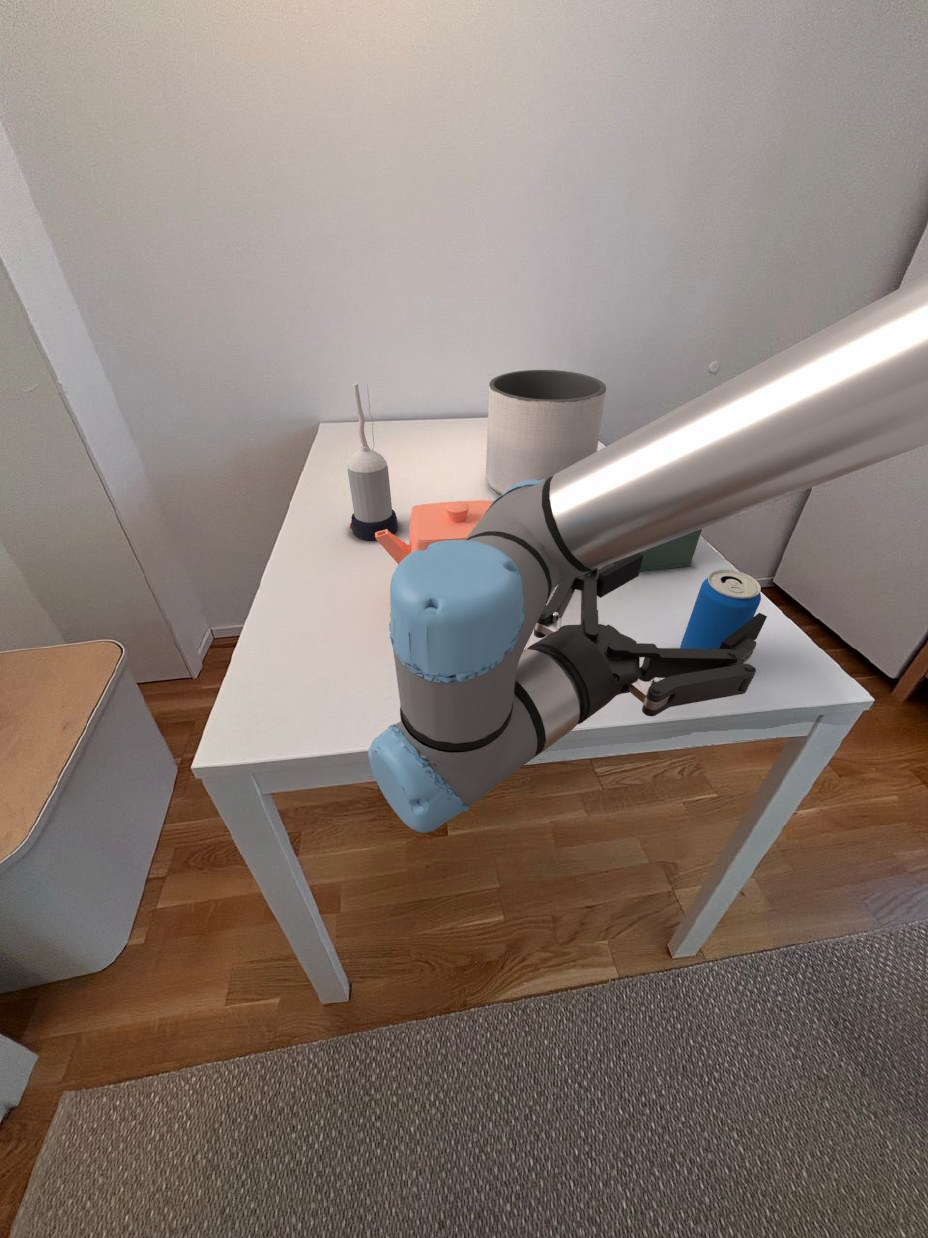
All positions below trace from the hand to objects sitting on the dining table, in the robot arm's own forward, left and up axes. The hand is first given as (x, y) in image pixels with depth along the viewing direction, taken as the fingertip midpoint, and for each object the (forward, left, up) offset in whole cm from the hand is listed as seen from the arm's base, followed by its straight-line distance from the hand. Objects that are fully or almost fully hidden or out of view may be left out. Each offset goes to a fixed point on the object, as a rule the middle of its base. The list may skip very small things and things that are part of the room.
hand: (693, 592), depth 53 cm
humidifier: (+57, -1, -15) cm, 59 cm away
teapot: (+33, +2, -15) cm, 36 cm away
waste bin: (+20, -28, -15) cm, 37 cm away
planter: (+48, -37, -15) cm, 62 cm away
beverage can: (-1, -10, -15) cm, 18 cm away
